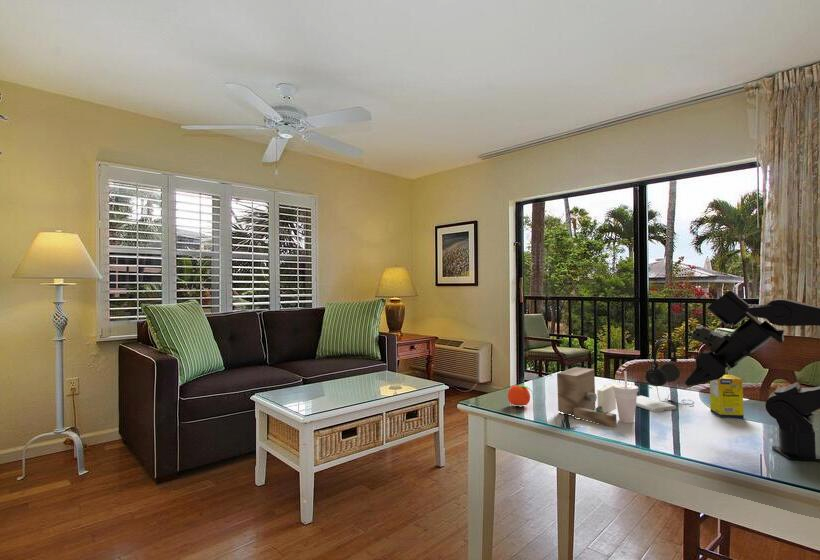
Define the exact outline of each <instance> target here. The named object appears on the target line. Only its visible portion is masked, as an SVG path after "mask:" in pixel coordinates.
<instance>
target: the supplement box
mask: <svg viewBox="0 0 820 560" xmlns="http://www.w3.org/2000/svg"><path fill="white" fill-rule="evenodd" d="M743 381H744V380H743V378H740V377H738V376H735V375H733V374H725V375H724V376H722V377H721V378H720V379H717V380H712V381H709V402H710V404H709V405H710V412H711V413H713V414H715V415H717V417H718V416H719V417H720V418H737V419H744V418H745V417H744V415H745V414H744V413H745V412H744V387H743V385H744V383H743Z"/></svg>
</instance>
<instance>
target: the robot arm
mask: <svg viewBox="0 0 820 560" xmlns="http://www.w3.org/2000/svg"><path fill="white" fill-rule="evenodd" d="M706 310H707V311H708V312H709V313H710V314H712V315H713V316H714V317H715V318H717V319H718V320H719V321H721V322H722V323H723V324H724V325H725V326H729V325H730V326H731V325H733V326H734V327H735V326H737V325H738V324H739V323H741V322H742V321H744V319H746V318H748V319H747V320H746V321H744V322H743V323H742V324H741V325H740V326H738V327H737V328H736V329H734V331H732V332H731V333H727V334H725V335H723V334H721V333H720V332H717V331H715V330H712V329H711V328H708V327H706V326H703V325H697V326H696V327H695V328H694V330H693V331H692V334H691V337H690V339H691V340H693V341H698V342H700V343H702V344H704V345H705V346H709V347H708V349H709V350H704V351H702V352H701V353H700V354H698V355H697V356H696V357H695V359H694V362H695V364H696V367H695V368H694V370H693V371H692V372H691V373H690V375H689V376H688V377H687V379H686V381H684V384H685V385H686V386H688V387H691V386H695V385H698V384H702V383H706V382H710V381H712V380H717V379H720V378H721V377H722V376H724V375H727V374H728V373H729V371H730V370H731V369H734V368H735V367H736V366H737V365H739V364H740V363H741V362H742V361H743V360H745V358H747V357H748V356H749V355H751V354H752V353H754V351H756V350H757V349H759V348H760V347H761V346H764V344H766V343H767V342H769V340H771V339H772V338H773V339H774V340H775V341H777V342H778V343H780V344H781V343H784V341H785V335H784V334H785V331H786V330H785V329H777V328H776V327H775V326H779V327H803V326H804V327H805V326H807V327H808V326H810V327H812V326H813V327H815V326H817V327H818V326H819V327H820V306H816V305H812V304H809V303H806V302H801V301H797V300H793V299H789V298H776V299H774V300H772V301H770V302H768V303H767V304H754V305H750V304H748V302H746V301H745V300H744V299H743V298H741V297H740V296H739V295H738V294H737V293H736V292H735V291H733V290H732V289H731V290H728V291H727V292H726V293H725V294H723V295H721V296H720V297H719V298H716V299H714V301H712V302H711V303H710V304H709V305H708V306H707V308H706ZM758 318H761V319H765V320H764V321H763V322H762V321H761V320H759V319H758ZM774 325H775V326H774ZM765 410H766V412H767V413H768V414H769V416H770V417H772V418H773V419H775V421H776V422H777V425H778V443H779V444H778V445H779V446H776V445H775V446H774V445H773V446H771V449H772V450H774V451H775V452H776V453H779V454H781V455H782V456H783V457H784V458H787V459H789V460H791V461H792V460H793V461H813V462H814V461H815V462H818V461H819V462H820V455H818V454H817V451H816V448H817V447H816V431H815V429H814V423H815V419H816V415H815V414H814V412H816V411H818V410H820V385H819V386H815V387H801V385H800V383H799V382H797V381H796V382H794V383H792V384H789V385H786V386H777V387H776V389H775V390H774V391H773V392H772V393H770V394H769V396H768V398H767V399H766V401H765Z"/></svg>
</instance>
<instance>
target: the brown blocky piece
mask: <svg viewBox="0 0 820 560" xmlns="http://www.w3.org/2000/svg"><path fill="white" fill-rule="evenodd" d="M556 377H557V378H556V380H557V382H556V383H557V384H556V385H557V411H560V412H563V413H567V414H571V415H574V417H576V418H580V419H584V420H588V421H592V422H595V423H594V424H596V423H599V424H598V425H601V424H603V425H602V426H605V425H606V427H610V428H615V427H617V425H618V423H617V414H616V413H611V412H610V413H608V412H602V411H600V410H596V401H597V400H598V395H597V393H596V385H595V384H596V383H595V369H593V368H586V367H579V366H578V367H577V366H574V367H572V368H569V369H566V370H563V371H560V372H557V373H556ZM594 408H595V409H594ZM592 409H594V410H592ZM574 417H573V418H574Z"/></svg>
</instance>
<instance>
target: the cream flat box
mask: <svg viewBox="0 0 820 560" xmlns="http://www.w3.org/2000/svg"><path fill="white" fill-rule="evenodd" d="M613 385H614V384H611V383H610V384H607V385H606V386H603V387H601V388H599V389H597V393H596V395H597V407H595V410H600V411H602V412H608V413H611V412H613V411H615V410H616V409H617V403H616V397H615V391H614V390H613Z"/></svg>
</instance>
